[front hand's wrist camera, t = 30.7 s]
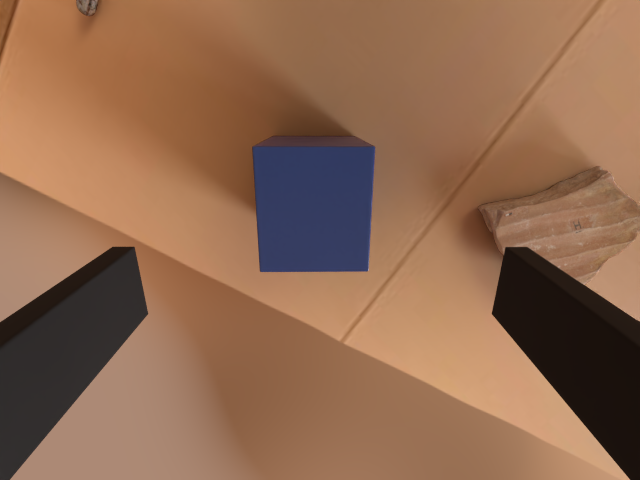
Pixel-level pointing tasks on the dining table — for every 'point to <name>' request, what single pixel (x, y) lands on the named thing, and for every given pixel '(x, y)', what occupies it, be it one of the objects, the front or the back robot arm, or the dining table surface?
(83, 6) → the putty knife
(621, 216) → the stone
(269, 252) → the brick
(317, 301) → the dining table surface
